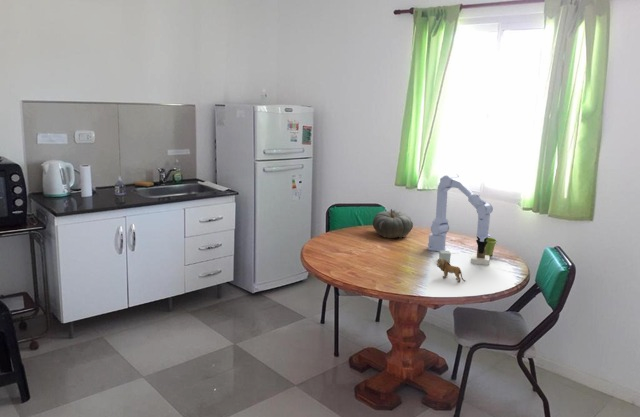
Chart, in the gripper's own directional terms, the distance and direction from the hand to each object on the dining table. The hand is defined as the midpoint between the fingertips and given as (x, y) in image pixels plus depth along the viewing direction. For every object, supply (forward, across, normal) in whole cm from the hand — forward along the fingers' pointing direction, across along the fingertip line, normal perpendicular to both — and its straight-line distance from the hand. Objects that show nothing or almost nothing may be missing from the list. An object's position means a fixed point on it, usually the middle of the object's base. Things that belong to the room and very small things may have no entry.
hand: (480, 251), depth 261 cm
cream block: (+6, 0, 0) cm, 6 cm away
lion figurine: (+6, -33, +13) cm, 36 cm away
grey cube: (+6, -6, +18) cm, 20 cm away
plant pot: (+6, +14, -3) cm, 15 cm away
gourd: (+6, +34, +53) cm, 63 cm away
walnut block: (+3, 0, 0) cm, 3 cm away
